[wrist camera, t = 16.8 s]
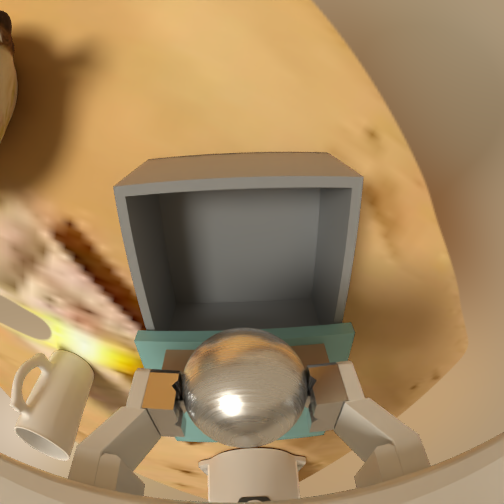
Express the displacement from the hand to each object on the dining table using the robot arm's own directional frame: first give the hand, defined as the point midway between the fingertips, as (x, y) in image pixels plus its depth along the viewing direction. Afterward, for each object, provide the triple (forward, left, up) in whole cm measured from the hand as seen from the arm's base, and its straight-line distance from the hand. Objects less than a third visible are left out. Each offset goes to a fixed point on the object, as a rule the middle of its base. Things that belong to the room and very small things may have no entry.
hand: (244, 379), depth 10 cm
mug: (-17, +22, -16) cm, 32 cm away
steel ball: (0, 0, -2) cm, 2 cm away
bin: (-2, 0, -15) cm, 16 cm away
